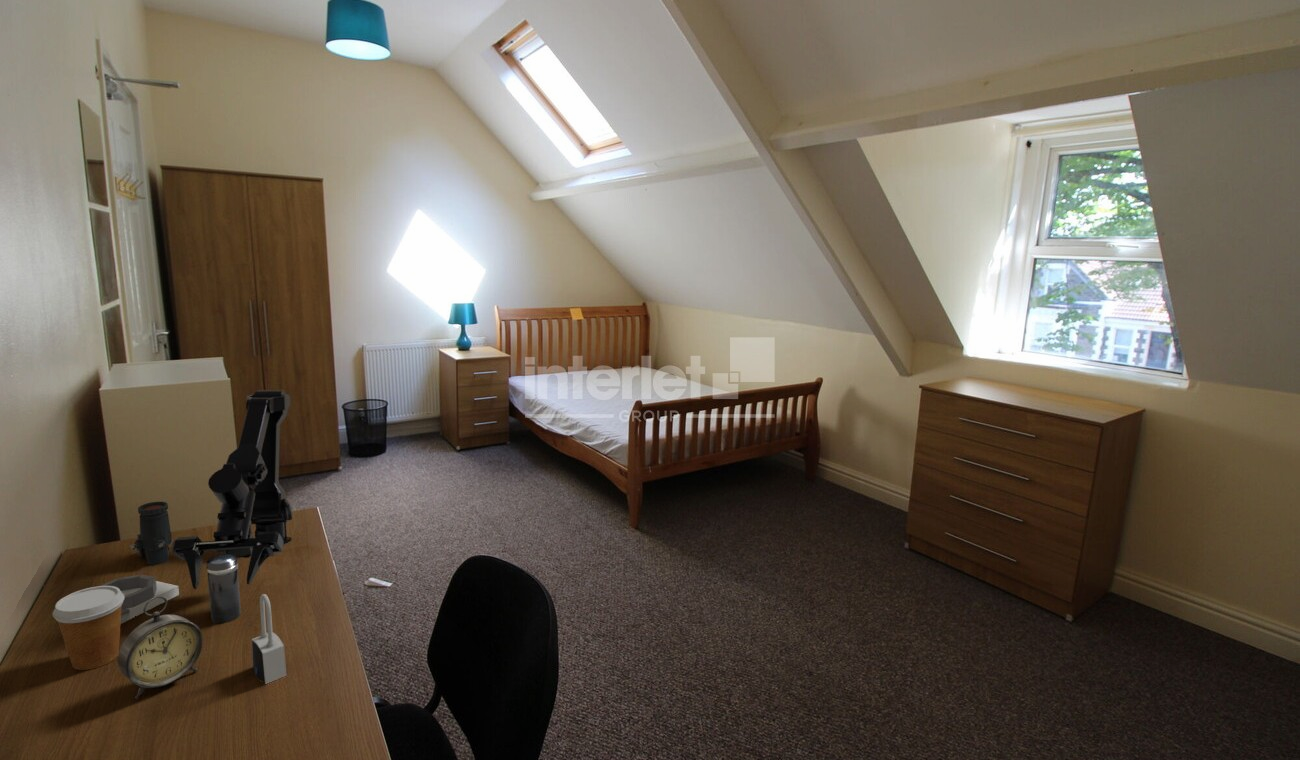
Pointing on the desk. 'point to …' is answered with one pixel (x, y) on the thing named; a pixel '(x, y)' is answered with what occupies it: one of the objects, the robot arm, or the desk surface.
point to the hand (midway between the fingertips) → (221, 586)
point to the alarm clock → (160, 650)
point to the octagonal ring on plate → (141, 594)
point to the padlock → (268, 649)
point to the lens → (223, 588)
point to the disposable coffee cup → (91, 625)
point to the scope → (153, 533)
